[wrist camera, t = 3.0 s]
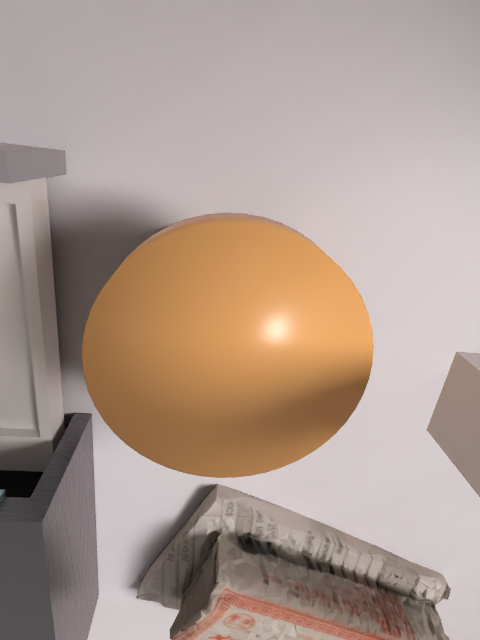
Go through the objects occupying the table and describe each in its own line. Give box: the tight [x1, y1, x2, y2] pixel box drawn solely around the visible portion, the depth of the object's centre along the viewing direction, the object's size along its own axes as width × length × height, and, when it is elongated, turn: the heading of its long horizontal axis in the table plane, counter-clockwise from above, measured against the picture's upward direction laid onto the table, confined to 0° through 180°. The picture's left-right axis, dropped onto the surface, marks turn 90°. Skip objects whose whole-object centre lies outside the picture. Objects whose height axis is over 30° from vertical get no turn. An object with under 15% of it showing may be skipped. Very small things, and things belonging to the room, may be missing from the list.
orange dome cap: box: [82, 213, 373, 478], centre depth 11 cm, size 8×8×2 cm
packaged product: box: [136, 484, 451, 640], centre depth 23 cm, size 18×5×10 cm
